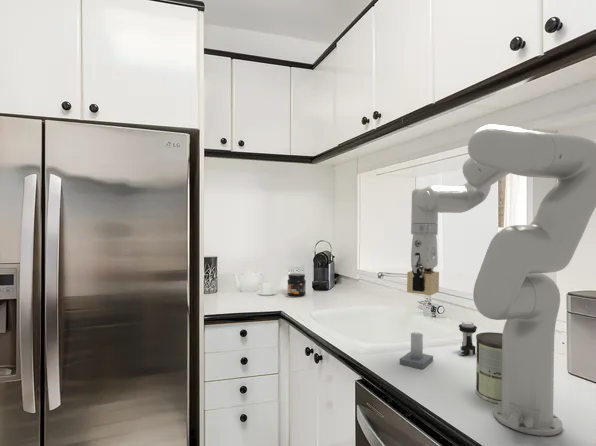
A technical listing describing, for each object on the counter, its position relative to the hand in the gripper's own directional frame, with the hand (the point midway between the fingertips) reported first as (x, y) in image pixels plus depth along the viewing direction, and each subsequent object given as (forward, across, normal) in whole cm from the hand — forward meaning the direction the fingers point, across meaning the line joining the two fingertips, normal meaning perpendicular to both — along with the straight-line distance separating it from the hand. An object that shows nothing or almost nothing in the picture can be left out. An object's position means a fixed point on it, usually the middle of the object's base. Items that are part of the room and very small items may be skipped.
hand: (422, 288), depth 117 cm
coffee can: (+22, -10, -23) cm, 33 cm away
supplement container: (+25, +62, +96) cm, 117 cm away
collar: (+1, 0, 0) cm, 1 cm away
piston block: (+22, 0, +1) cm, 22 cm away
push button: (+23, +17, -8) cm, 29 cm away
